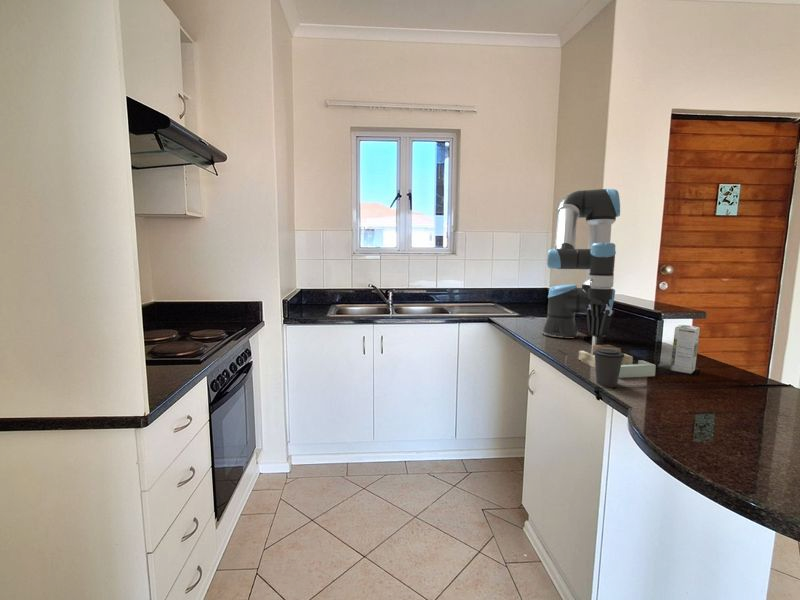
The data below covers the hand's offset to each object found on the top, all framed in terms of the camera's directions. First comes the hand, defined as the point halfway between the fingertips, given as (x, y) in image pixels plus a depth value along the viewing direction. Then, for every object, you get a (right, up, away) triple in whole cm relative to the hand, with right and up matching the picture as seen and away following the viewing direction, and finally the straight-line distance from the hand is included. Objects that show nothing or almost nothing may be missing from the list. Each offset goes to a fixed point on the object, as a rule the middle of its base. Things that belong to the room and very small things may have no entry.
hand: (596, 354), depth 140 cm
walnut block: (+1, -3, -4) cm, 5 cm away
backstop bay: (+3, -4, -16) cm, 16 cm away
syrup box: (+22, -4, -12) cm, 25 cm away
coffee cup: (-9, -5, -24) cm, 27 cm away
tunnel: (+1, -3, -4) cm, 5 cm away
